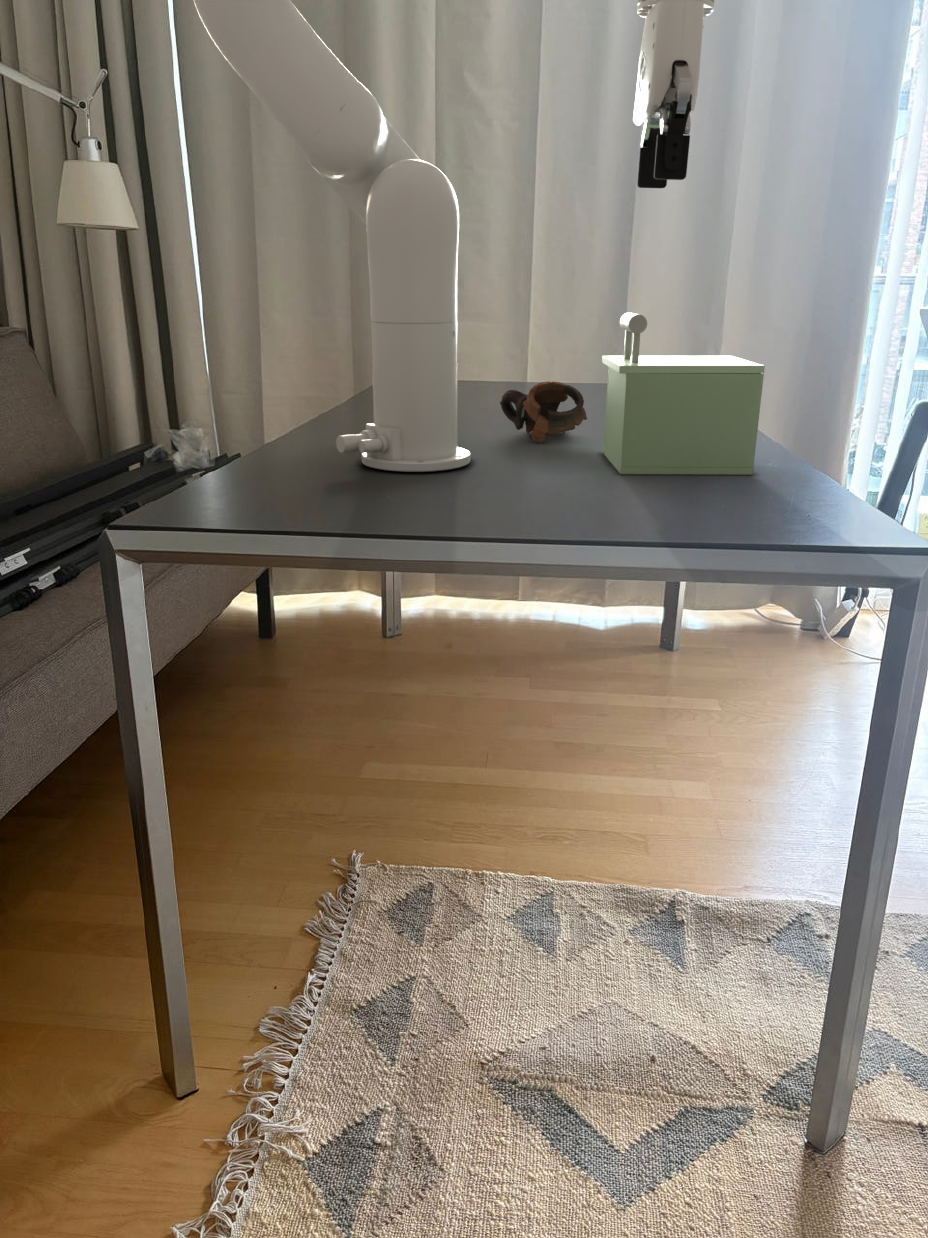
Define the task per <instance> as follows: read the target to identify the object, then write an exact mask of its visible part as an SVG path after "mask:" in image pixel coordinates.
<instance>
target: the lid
mask: <svg viewBox="0 0 928 1238" xmlns="http://www.w3.org/2000/svg"><path fill="white" fill-rule="evenodd" d="M619 326H620V328H621V329H622V330H623V331H624V345H623V355H601V363H602V364H603V365H605V366H607V368H608V367H610V368H612V369H613V370H615V371H617V372H618V373H763V374H764V373H765V366H766V365H764V364H761V363H757V362H754V361H750V360H747V359H744V358H741V357H738V356H734V355H640V345H641V334H643V333H644V332H645V331H646V329H647V328H648V320H647V318H646V317H645V316H644V315H642V314H639V313H634V312H628V311H627V312H625V313H624V314H622V315H621V316H620V318H619Z"/></svg>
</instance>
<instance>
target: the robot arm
mask: <svg viewBox="0 0 928 1238" xmlns="http://www.w3.org/2000/svg"><path fill="white" fill-rule="evenodd" d="M192 1H193V3H194V6H195V9H196V11H197V13H198V16H199V18H200V20H201V22H202V24H203V26H204V28H205V30H206V32H207V33H208V35H209V37H210V39H211V40H212V42H213V43H214V45H215V46H216V48H217V50H218V51H219V52H220V54H221V55H222V56H223V58H224V59H225V60H226V62H227V63H228V64H229V66H230V67H231V68H232V69H233V70H234V71H235V73H236V74H237V75H238V76H239V78H240V79H241V80H242V81H243V82H244V83H245V85H246V86H247V87H248V88H249V89H250V90H251V91H252V93H253V94H254V95H255V96H256V98H257V99H258V100H259V101H260V103H261V105H263V106H264V108H266V110H267V111H268V112H269V113H270V115H272V116H273V118H274V119H275V120H276V121H277V122H278V123H279V124H280V126H281V127H282V128H283V129H284V130H285V131H286V133H287V134H288V135H289V136H290V138H291V139H292V140H293V142H294V143H295V144H296V146H297V147H298V149H299V151H300V152H301V154H302V155H303V157H304V159H305V160H306V161H307V163H308V164H309V165H310V166H311V168H313V169H314V170H315V171H316V172H317V174H318V175H320V176H321V178H322V179H323V180H324V181H325V182H326V183H327V185H328V186H329V187H330V189H332V190H333V191H334V193H335V194H336V195H337V196H338V197H339V198H340V199H341V200H342V201H343V202H344V203H345V205H347V207H348V208H349V209H350V210H351V211H352V212H353V213H354V214H355V216H356V217H357V218H358V219H359V220H360V221H361V222H362V223H363V225H364V226H365V227H366V243H367V244H366V245H367V246H366V247H367V262H368V263H367V264H368V282H369V313H370V316H369V317H370V326H371V327H370V328H371V331H370V333H371V360H372V361H371V362H372V363H371V365H372V366H371V369H372V399H373V403H372V404H373V422H371V423H370V422H369V423H365V429H364V430H362V431H361V432H360V433H359V434H358V433H357V434H353V433H351V434H350V433H349V434H343V435H338V436H336V440H335V446H336V450H337V451H338V453H340V454H345V453H347V454H348V453H355V452H357V451H359V452H360V453H361V454H360V455H361V458H360V459H361V464H363V465H364V466H365V467H368V468H372V469H375V470H381V471H389V472H399V473H400V472H401V473H403V472H404V473H427V472H441V471H449V470H454V469H459V468H463V467H466V466H468V465H469V464H470V463H471V452H470V451H469V450H468V449H465V448H463V447H459V446H458V260H459V259H458V258H459V235H460V234H459V232H460V211H459V202H458V198H457V195H456V191H455V189H454V187H453V184H452V183H451V181H450V180H449V178H448V177H447V175H445V173H444V172H443V171H442V170H440V169H439V168H438V167H437V166H436V165H433V164H432V163H430V162H427V161H425V160H422V159H421V158H420V156H418V155H417V154H416V153H415V151H414V150H413V148H411V147H410V145H409V143H407V142H406V140H405V139H404V138H403V137H402V136H401V135H400V134H399V132H398V131H397V130H396V129H395V128H394V126H393V125H392V124H391V123H390V122H389V120H388V119H387V118H386V117H385V116H384V114H383V110H382V108H381V106H380V104H379V102H378V101H377V98H376V97H375V96H374V95H373V93H372V92H371V91H370V90H369V89H368V88H367V87H366V86H365V85H363V83H361V82H360V81H359V80H358V79H357V78H356V77H355V76H354V75H353V74H352V73H351V72H350V71H349V70H348V68H347V67H346V66H345V65H344V64H343V62H341V61H340V59H339V58H338V57H337V56H336V55H335V53H333V51H332V50H331V49H330V48H329V47H328V46H327V45H326V43H325V42H324V41H323V40H322V38H320V36H319V35H318V34H317V33H316V31H315V30H314V29H313V27H312V25H310V23H309V22H308V21H307V20H306V18H305V16H303V14H302V13H301V12H300V11H299V10H298V8H297V7H296V6H295V4H294V3H293V2H292V0H192ZM714 10H715V0H637V11H636V12H637V15H638V16H639V17H641V18H643V19H645V21H644V25H643V30H642V31H643V32H642V36H641V37H642V38H641V44H640V52H639V60H638V69H637V79H636V87H635V88H636V89H635V97H634V106H633V114H632V115H633V116H632V121H633V123H634V124H635V126H641V125H642V124H643V123H644V124H643V129H642V134H641V140H640V147H639V155H638V166H637V179H636V186H637V187H638V188H639V189H665V188H666V187H667V183H668V180H669V181H683V180H685V179H686V178H687V175H688V174H687V173H688V163H689V162H688V161H689V153H690V152H689V151H690V141H691V135H690V132H691V128H692V127H691V125H692V123H691V122H692V121H691V114H693V112H694V111H695V107H696V103H697V97H698V90H699V83H700V82H699V81H700V73H701V72H700V70H701V61H702V60H701V59H702V49H703V48H702V47H703V32H704V31H703V30H704V18H705V17H708V16H710V15H712V14H713V13H714Z"/></svg>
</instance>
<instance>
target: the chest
mask: <svg viewBox="0 0 928 1238" xmlns="http://www.w3.org/2000/svg"><path fill="white" fill-rule="evenodd" d="M607 368H608V369H607V382H606V383H607V387H606V401H605V402H606V404H605V421H604V436H603V437H604V439H603V455H604V456H605V457H606V459H607V460H608V461H609V462H610V463H611V465H612V466H613V467H614V468H615V470H616V471H617V472H618V473H619V475H696V476H697V475H701V476H702V475H708V476H709V475H710V476H711V475H712V476H714V475H716V476H717V475H725V476H727V475H728V476H729V475H731V476H734V475H735V476H736V475H737V476H738V475H739V476H742V475H743V476H744V475H745V476H746V475H747V476H748V475H749V476H750V475H753V474H754V465H755V464H754V463H755V455H756V448H757V439H758V430H759V421H760V412H761V404H762V395H763V385H764V377H765V374H764V373H618V372H617V371H615V370H613V369H612V368H610V367H608V366H607Z"/></svg>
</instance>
